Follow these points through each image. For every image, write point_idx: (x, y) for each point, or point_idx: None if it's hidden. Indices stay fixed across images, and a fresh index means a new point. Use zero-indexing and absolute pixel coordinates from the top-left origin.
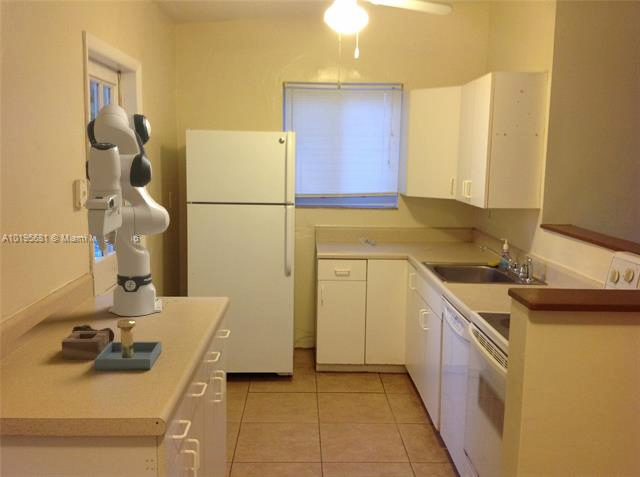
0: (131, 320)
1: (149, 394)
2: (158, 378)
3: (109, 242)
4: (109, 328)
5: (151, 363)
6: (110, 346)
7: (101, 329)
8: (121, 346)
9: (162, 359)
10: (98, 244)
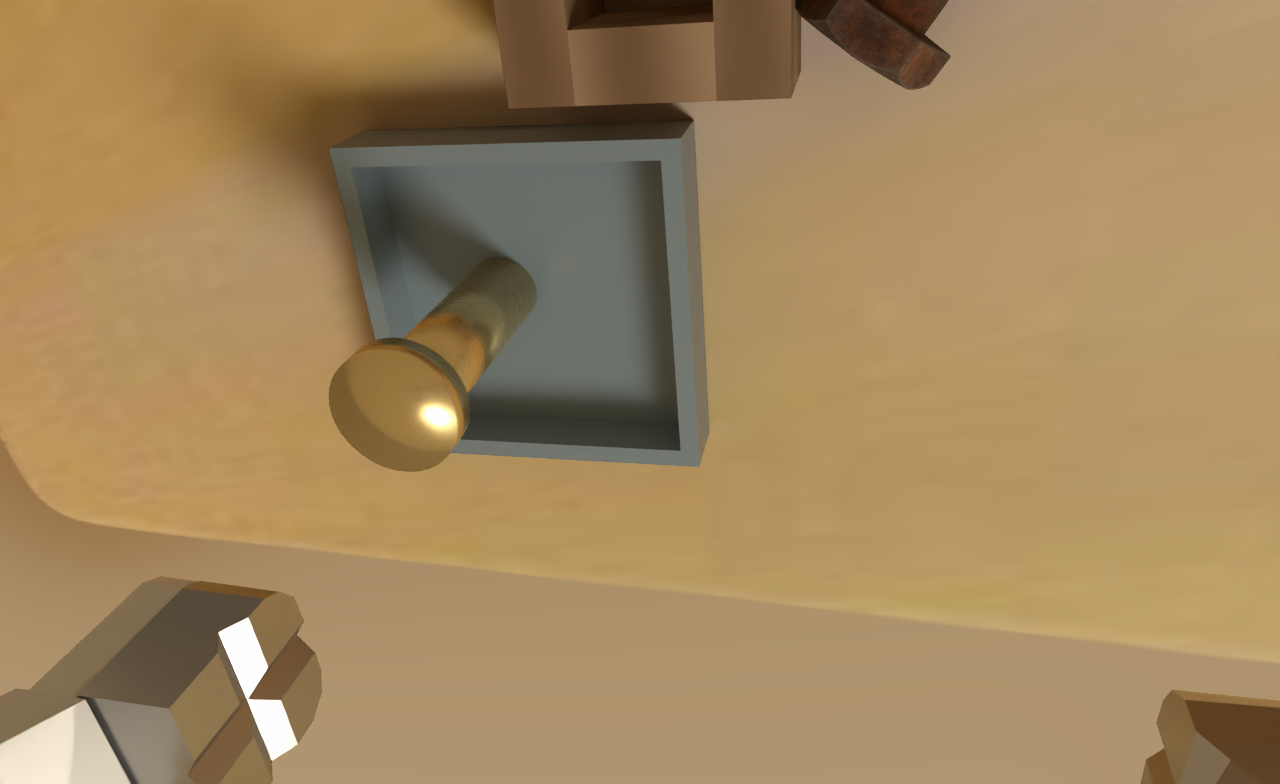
0: (422, 443)
1: (182, 456)
2: (339, 466)
3: (1191, 752)
4: (889, 70)
5: None
6: (606, 159)
7: (861, 2)
8: (439, 302)
9: None
10: (42, 679)
